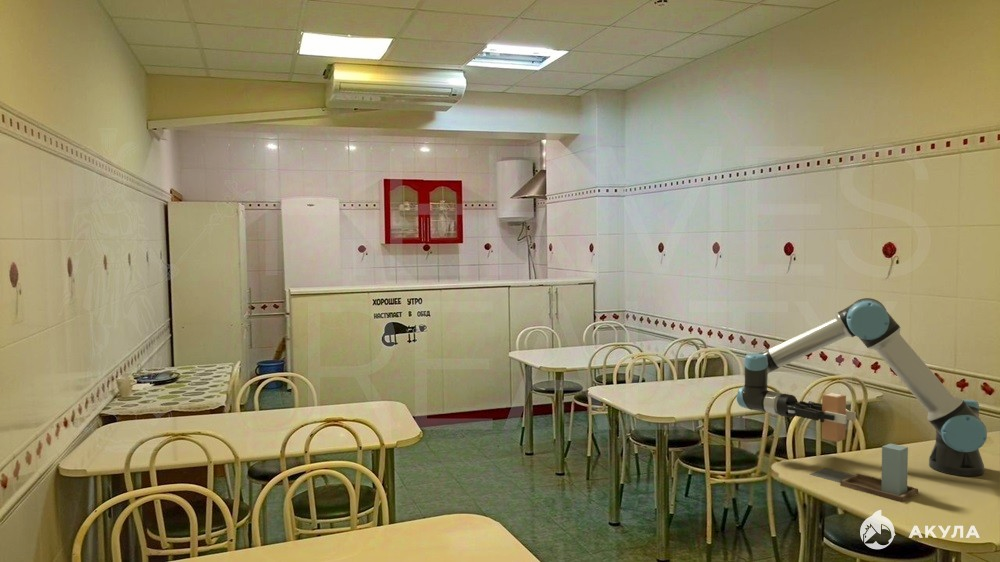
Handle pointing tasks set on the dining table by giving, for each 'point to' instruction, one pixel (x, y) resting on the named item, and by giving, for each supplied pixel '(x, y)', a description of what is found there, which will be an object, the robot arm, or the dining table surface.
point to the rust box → (835, 405)
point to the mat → (831, 474)
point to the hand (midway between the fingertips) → (850, 418)
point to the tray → (874, 487)
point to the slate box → (894, 469)
